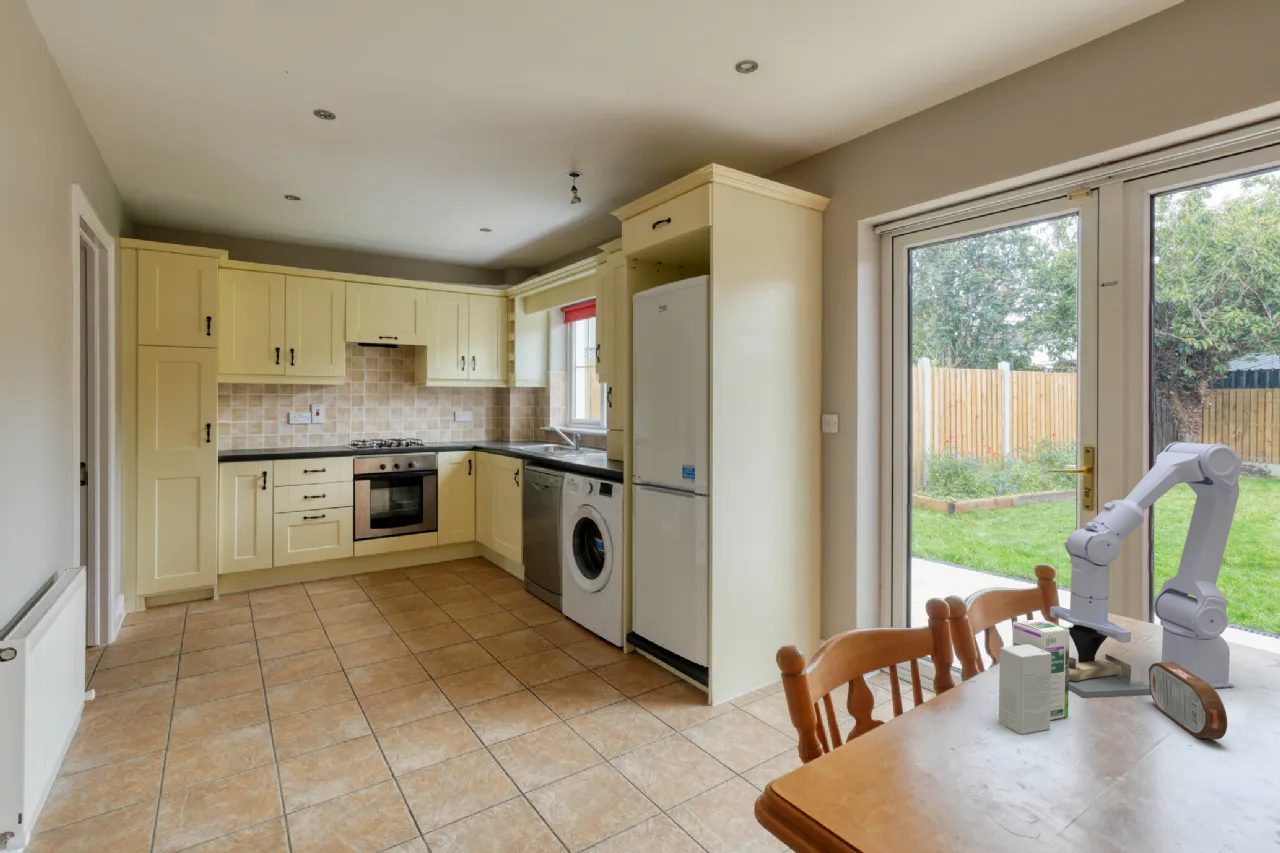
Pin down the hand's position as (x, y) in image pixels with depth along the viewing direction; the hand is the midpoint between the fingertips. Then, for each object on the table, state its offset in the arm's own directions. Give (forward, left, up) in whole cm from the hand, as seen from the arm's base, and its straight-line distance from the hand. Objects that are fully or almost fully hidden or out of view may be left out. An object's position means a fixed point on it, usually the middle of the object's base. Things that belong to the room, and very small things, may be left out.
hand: (1086, 667), depth 116 cm
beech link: (+1, +2, 0) cm, 2 cm away
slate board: (+1, +2, -2) cm, 3 cm away
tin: (-1, +18, -2) cm, 18 cm away
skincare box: (+26, +16, -2) cm, 30 cm away
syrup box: (+20, +12, -2) cm, 23 cm away
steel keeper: (-4, +4, -1) cm, 5 cm away
